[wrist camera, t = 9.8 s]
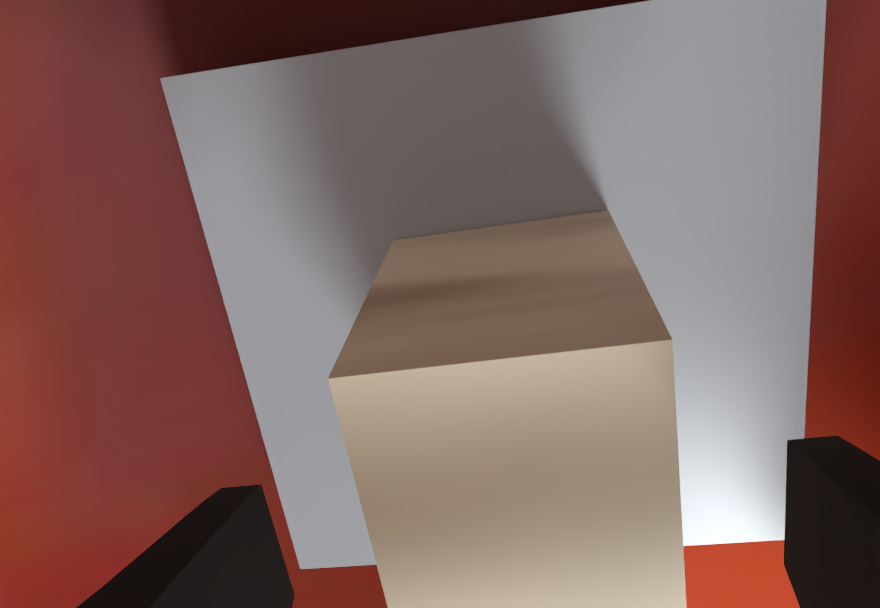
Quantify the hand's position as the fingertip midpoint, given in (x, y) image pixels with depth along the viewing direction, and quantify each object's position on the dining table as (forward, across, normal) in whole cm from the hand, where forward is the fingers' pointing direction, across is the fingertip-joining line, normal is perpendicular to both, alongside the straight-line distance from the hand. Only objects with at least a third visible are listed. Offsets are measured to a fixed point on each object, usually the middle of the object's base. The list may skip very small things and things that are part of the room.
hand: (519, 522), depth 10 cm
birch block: (+6, 0, 0) cm, 6 cm away
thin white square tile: (+9, 0, 0) cm, 9 cm away
